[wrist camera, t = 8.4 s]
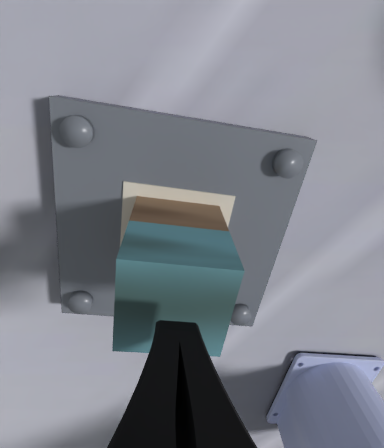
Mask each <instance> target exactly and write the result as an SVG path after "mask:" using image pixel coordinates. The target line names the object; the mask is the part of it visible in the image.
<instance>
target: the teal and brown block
mask: <svg viewBox="0 0 384 448" xmlns="http://www.w3.org/2000/svg"><path fill="white" fill-rule="evenodd" d="M244 272H245V270H244V268H243V265H242V263H241V260H240V258H239V255H238V252H237V250H236V247H235V245H234V242H233V240H232V237H231V234H230V232H229V229H228V227H227V224H226V222H225V219H224V216H223V214H222V211H221V209H220V206H216V205H208V204H200V203H192V202H183V201H175V200H167V199H158V198H150V197H142V196H137V197H136V200H135V203H134V206H133V209H132V212H131V216H130V219H129V222H128V225H127V228H126V231H125V234H124V237H123V240H122V243H121V246H120V249H119V252H118V255H117V258H116V277H115V302H114V326H113V351H122V352H141V353H149V351H150V348H151V345H152V341H153V338H154V332H155V325H156V322H157V321H159V320H166V321H180V322H194V323H196V324H197V325H198V326H199V330H200V333H201V335H202V338H203V341H204V344H205V346H206V349H207V351H208V353H209V356H218V357H220V355H221V351H222V348H223V344H224V341H225V337H226V334H227V330H228V327H229V324H230V320H231V317H232V313H233V310H234V306H235V303H236V299H237V296H238V292H239V289H240V285H241V282H242V279H243V275H244Z"/></svg>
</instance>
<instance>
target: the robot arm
mask: <svg viewBox="0 0 384 448" xmlns="http://www.w3.org/2000/svg"><path fill="white" fill-rule="evenodd" d="M383 366H384V361H383V360H382V359H381V358H379V357H363V356H347V355H330V354H314V353H298V354H297V355H296V356H295V357H294V360H293V362H292V364H291V366H290V368H289V370H288V372H287V374H286V377H285V379H284V381H283V383H282V385H281V387H280V389H279V391H278V393H277V396H276V398H275V400H274V402H273V404H272V406H271V408H270V410H269V413H268V415H267V417H266V418H267V422H268V423H272V424H277V425H278V428H279V432H280V435H281V438H282V441H283V445H284V448H384V401H383V399H382V398H381V396H380V395H379V393H378V392H377V390H376V389H375V387H374V386H373V384H372V382H373V380H374V379H375V377H376V376H377V375H378V373H379V372H380V370H381V369H382V367H383ZM107 448H257V447H256V445H255V443H254V442H253V440H252V438H251V437H250V435H249V433H248V431H247V430H246V428H245V426H244V424H243V423H242V421H241V419H240V417H239V415H238V414H237V412H236V410H235V408H234V406H233V404H232V402H231V400H230V398H229V397H228V395H227V393H226V391H225V389H224V386H223V384H222V382H221V380H220V378H219V376H218V374H217V372H216V370H215V367H214V365H213V363H212V361H211V358H210V356H209V353H208V351H207V349H206V346H205V344H204V341H203V338H202V335H201V333H200V330H199V326H198V325H197V324H196V323H194V322H180V321H166V320H159V321H157V322H156V325H155V332H154V338H153V341H152V345H151V348H150V351H149V355H148V358H147V360H146V363H145V366H144V368H143V371H142V374H141V376H140V379H139V381H138V384H137V386H136V388H135V391H134V393H133V395H132V397H131V400H130V402H129V404H128V406H127V409H126V411H125V413H124V415H123V417H122V419H121V421H120V423H119V425H118V427H117V429H116V431H115V433H114V435H113V437H112V439H111V441H110V443H109V445H108V447H107Z"/></svg>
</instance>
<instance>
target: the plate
mask: <svg viewBox="0 0 384 448" xmlns="http://www.w3.org/2000/svg"><path fill="white" fill-rule="evenodd" d="M49 107H50V124H51V141H52V158H53V174H54V191H55V208H56V225H57V242H58V258H59V275H60V292H61V309H62V313H74V314H88V315H101V316H114V302H115V277H116V258H117V255H118V252H119V249H120V246H121V243H122V240H123V237H124V234H125V231H126V228H127V225H128V222H129V219H130V216H131V212H132V209H133V206H134V203H135V200H136V197H137V196H142V197H150V198H158V199H167V200H175V201H183V202H192V203H200V204H208V205H216V206H220V209H221V211H222V214H223V216H224V219H225V222H226V224H227V227H228V229H229V232H230V234H231V237H232V240H233V242H234V245H235V247H236V250H237V252H238V255H239V258H240V260H241V263H242V265H243V268H244V270H245V272H244V275H243V279H242V282H241V285H240V289H239V292H238V296H237V299H236V303H235V306H234V310H233V313H232V317H231V320H230V324H229V325H239V326H253V323H254V320H255V317H256V314H257V311H258V309H259V306H260V303H261V300H262V297H263V294H264V291H265V289H266V286H267V283H268V280H269V277H270V274H271V271H272V269H273V266H274V263H275V260H276V257H277V254H278V251H279V249H280V246H281V243H282V240H283V237H284V234H285V231H286V229H287V226H288V223H289V220H290V217H291V214H292V211H293V208H294V206H295V203H296V200H297V197H298V194H299V191H300V188H301V186H302V183H303V180H304V177H305V174H306V171H307V168H308V166H309V163H310V160H311V157H312V154H313V151H314V148H315V146H316V143H317V140H314V139H311V138H309V137H305V136H299V135H293V134H287V133H281V132H275V131H269V130H263V129H257V128H251V127H245V126H239V125H233V124H227V123H221V122H215V121H209V120H203V119H197V118H191V117H185V116H179V115H173V114H167V113H161V112H155V111H149V110H143V109H137V108H131V107H125V106H119V105H113V104H107V103H101V102H95V101H89V100H83V99H77V98H71V97H65V96H59V95H58V96H49Z"/></svg>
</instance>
